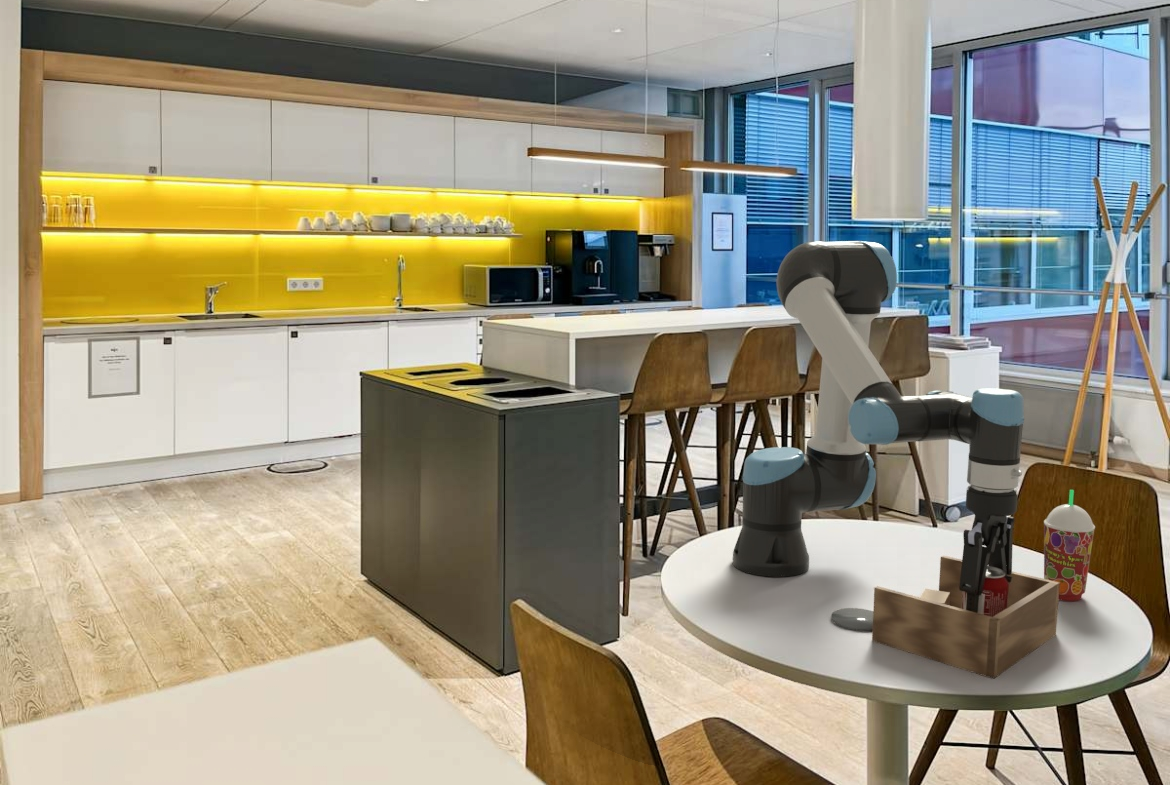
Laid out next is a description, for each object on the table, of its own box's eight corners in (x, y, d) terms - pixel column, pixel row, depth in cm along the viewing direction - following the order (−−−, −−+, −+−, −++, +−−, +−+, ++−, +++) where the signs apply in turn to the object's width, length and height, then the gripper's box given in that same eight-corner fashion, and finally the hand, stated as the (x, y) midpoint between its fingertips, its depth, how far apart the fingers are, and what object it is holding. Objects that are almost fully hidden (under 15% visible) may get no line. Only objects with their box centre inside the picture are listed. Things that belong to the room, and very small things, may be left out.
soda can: (1008, 652, 156) (1013, 579, 154) (963, 648, 157) (968, 576, 155) (999, 635, 162) (1004, 565, 160) (956, 632, 163) (960, 562, 162)
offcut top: (918, 616, 163) (918, 599, 163) (924, 605, 169) (925, 588, 168) (943, 620, 162) (944, 603, 161) (949, 609, 167) (949, 592, 166)
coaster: (821, 620, 169) (821, 617, 169) (849, 607, 175) (849, 604, 175) (868, 635, 162) (868, 631, 162) (895, 621, 169) (895, 617, 168)
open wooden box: (872, 640, 160) (874, 587, 159) (940, 603, 177) (943, 555, 175) (993, 678, 146) (997, 620, 145) (1055, 634, 163) (1059, 582, 161)
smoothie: (1035, 598, 180) (1042, 491, 177) (1043, 585, 186) (1050, 482, 184) (1086, 607, 175) (1094, 498, 172) (1092, 593, 182) (1100, 488, 179)
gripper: (988, 502, 146) (979, 649, 150) (1041, 480, 160) (1031, 615, 163) (940, 493, 151) (932, 635, 155) (995, 473, 165) (986, 603, 168)
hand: (983, 625), depth 159 cm, fingers closed on soda can, 7 cm apart
